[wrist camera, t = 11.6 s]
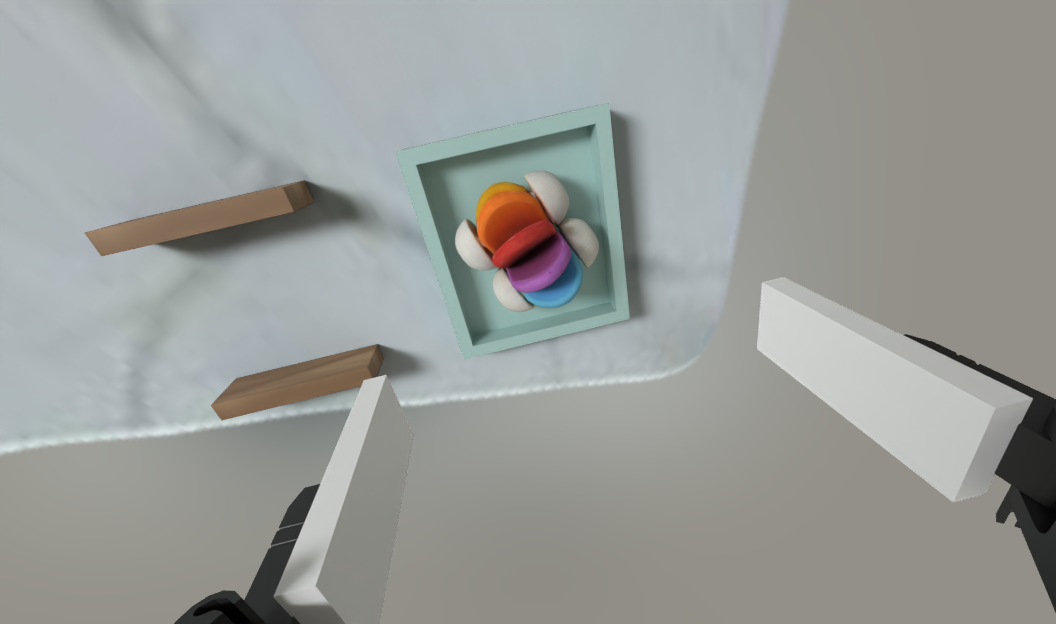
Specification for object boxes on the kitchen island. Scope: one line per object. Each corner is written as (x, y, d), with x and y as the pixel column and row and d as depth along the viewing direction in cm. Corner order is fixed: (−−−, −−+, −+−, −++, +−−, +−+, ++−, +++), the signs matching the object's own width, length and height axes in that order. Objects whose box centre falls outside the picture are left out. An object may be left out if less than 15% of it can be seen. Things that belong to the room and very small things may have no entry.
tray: (401, 150, 27) (395, 152, 25) (597, 105, 27) (609, 103, 25) (464, 344, 34) (464, 359, 32) (619, 306, 34) (629, 318, 32)
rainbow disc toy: (533, 147, 27) (553, 153, 21) (602, 252, 31) (637, 285, 25) (440, 221, 29) (431, 248, 22) (518, 313, 33) (529, 359, 26)
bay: (130, 220, 26) (84, 232, 23) (304, 180, 27) (282, 187, 24) (245, 392, 33) (221, 420, 30) (383, 358, 33) (374, 382, 30)
